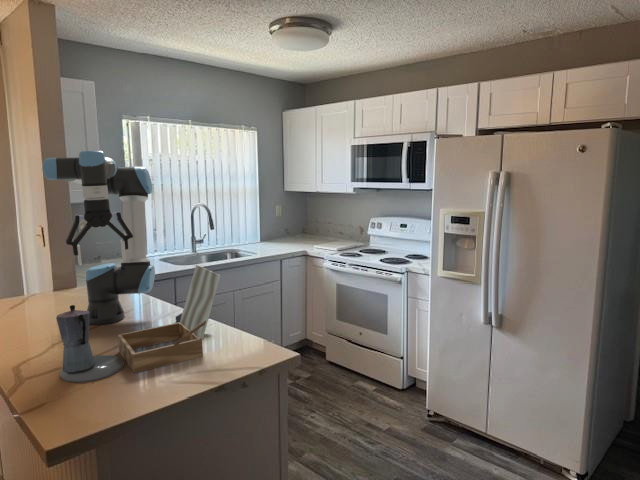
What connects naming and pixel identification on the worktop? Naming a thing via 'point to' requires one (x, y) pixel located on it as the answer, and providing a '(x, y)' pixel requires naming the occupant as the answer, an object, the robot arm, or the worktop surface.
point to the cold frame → (174, 329)
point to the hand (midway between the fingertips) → (102, 262)
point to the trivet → (95, 369)
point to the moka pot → (75, 340)
